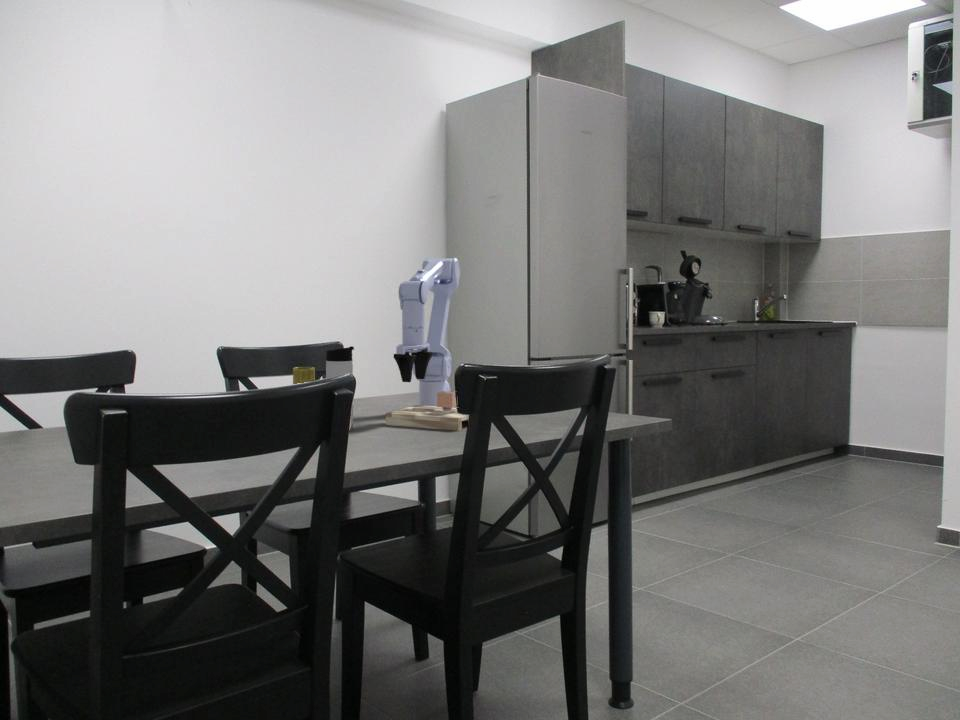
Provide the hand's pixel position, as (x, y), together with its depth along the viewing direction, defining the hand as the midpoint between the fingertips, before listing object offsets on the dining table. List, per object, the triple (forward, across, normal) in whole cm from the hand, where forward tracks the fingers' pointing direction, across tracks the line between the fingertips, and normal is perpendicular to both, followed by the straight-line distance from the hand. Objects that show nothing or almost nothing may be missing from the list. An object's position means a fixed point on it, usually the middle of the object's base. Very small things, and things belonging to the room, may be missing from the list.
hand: (413, 380), depth 207 cm
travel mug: (+10, +20, -9) cm, 25 cm away
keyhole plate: (+10, +2, +7) cm, 13 cm away
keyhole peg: (+10, +2, +10) cm, 15 cm away
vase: (+10, +18, -21) cm, 30 cm away
